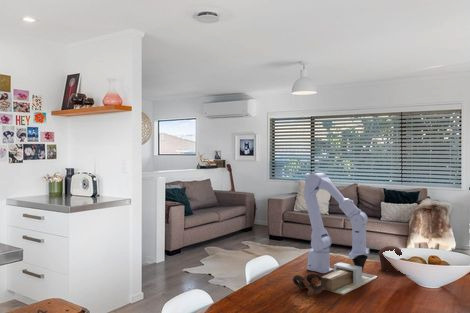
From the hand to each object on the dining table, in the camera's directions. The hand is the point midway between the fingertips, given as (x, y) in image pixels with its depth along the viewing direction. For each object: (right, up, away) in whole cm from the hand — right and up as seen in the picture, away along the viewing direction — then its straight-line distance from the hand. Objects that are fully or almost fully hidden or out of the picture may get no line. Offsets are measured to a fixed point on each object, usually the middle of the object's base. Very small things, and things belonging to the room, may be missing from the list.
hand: (359, 272), depth 168 cm
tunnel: (-7, -2, -7) cm, 10 cm away
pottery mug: (-25, -3, -17) cm, 31 cm away
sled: (-12, -1, -11) cm, 16 cm away
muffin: (+19, -2, +11) cm, 22 cm away
